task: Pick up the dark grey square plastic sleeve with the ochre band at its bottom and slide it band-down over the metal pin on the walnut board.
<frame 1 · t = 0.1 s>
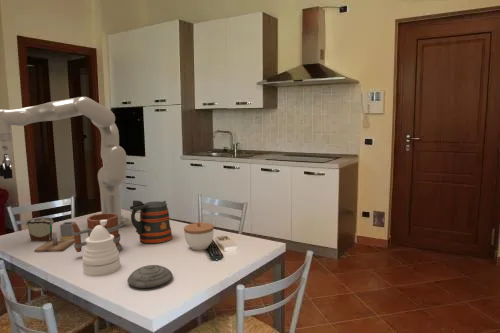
hand: (6, 177, 167), 31 cm above the table, tool pointing down, fingers open, 9 cm apart
flying saucer: (150, 282, 131), on the table
sleeve: (69, 237, 181), on the table
food container: (44, 240, 180), on the table
pin board: (55, 247, 169), on the table
mug: (98, 252, 161), on the table
honey pot: (102, 269, 143), on the table
lidded bowl: (199, 247, 164), on the table
beer stein: (152, 240, 175), on the table
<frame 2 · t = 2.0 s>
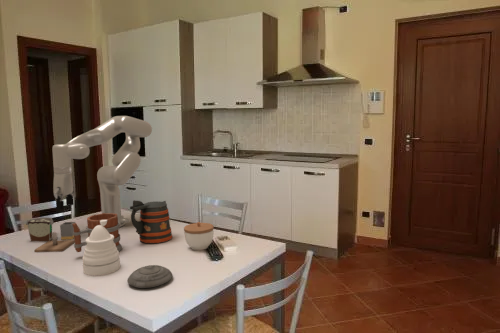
hand: (65, 207, 179), 15 cm above the table, tool pointing down, fingers open, 9 cm apart
nothing on the table moved.
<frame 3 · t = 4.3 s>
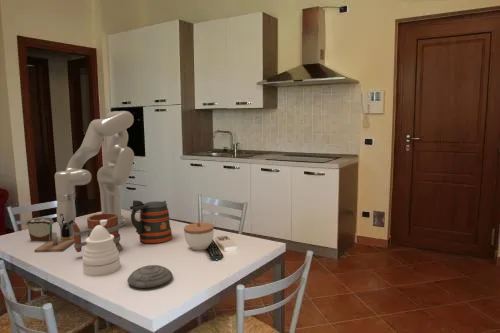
hand: (68, 234, 181), 1 cm above the table, tool pointing down, fingers closed on sleeve, 5 cm apart
sleeve: (69, 237, 181), on the table, touching gripper
everything else where it was.
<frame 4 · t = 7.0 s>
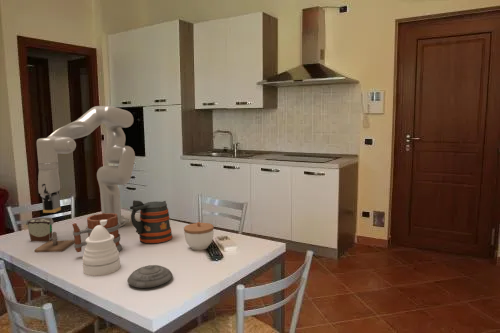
hand: (52, 207, 166), 18 cm above the table, tool pointing down, fingers closed on sleeve, 5 cm apart
sleeve: (52, 211, 167), point 16 cm above the table, touching gripper
everything else where it was.
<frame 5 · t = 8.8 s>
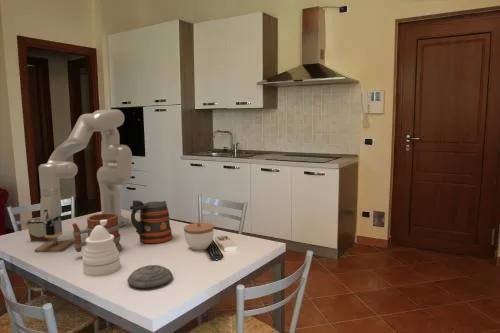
hand: (53, 232, 167), 7 cm above the table, tool pointing down, fingers closed on sleeve, 5 cm apart
sleeve: (53, 235, 168), point 5 cm above the table, touching gripper
everything else where it was.
when the fingers open (4 cm above the table, at t = 10.2 s): sleeve drops 1 cm, resting on pin board.
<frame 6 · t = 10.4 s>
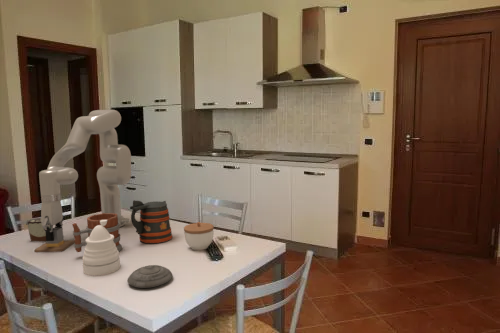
hand: (54, 237, 168), 4 cm above the table, tool pointing down, fingers open, 7 cm apart
sleeve: (55, 244, 168), point 1 cm above the table, touching pin board
everything else where it was.
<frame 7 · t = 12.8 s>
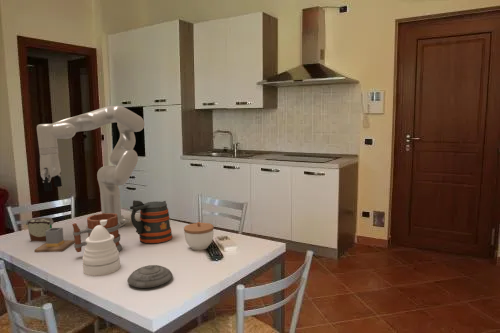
hand: (53, 188, 174), 24 cm above the table, tool pointing down, fingers open, 9 cm apart
nothing on the table moved.
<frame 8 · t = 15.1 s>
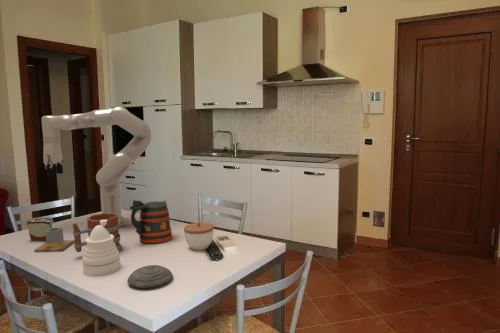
hand: (55, 174, 192), 28 cm above the table, tool pointing down, fingers open, 9 cm apart
nothing on the table moved.
at the end: sleeve 0.1 cm off-centre on the pin board, point 1.0 cm above the pin board's base; sleeve tilted 0°; the gripper is holding nothing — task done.
